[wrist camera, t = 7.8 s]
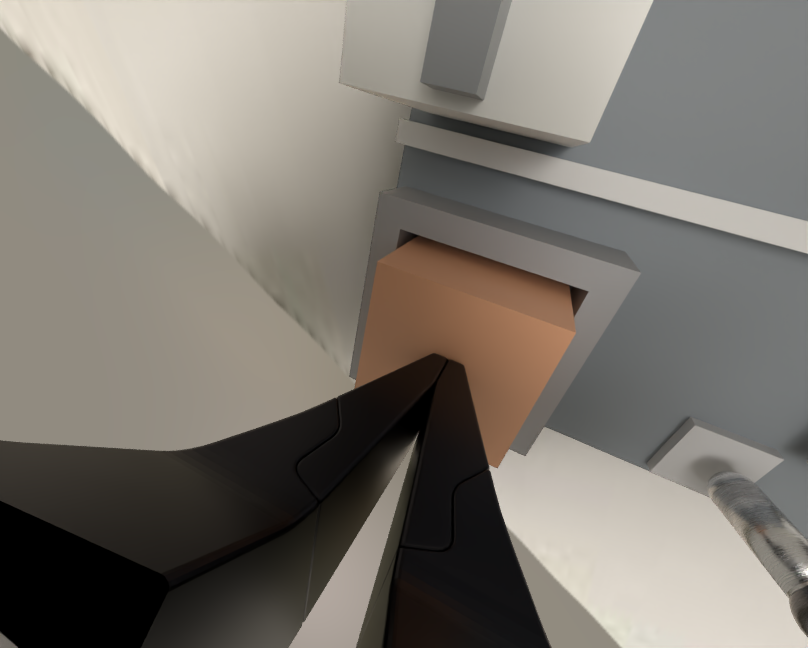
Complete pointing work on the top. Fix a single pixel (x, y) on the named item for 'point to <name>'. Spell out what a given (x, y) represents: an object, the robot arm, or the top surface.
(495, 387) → the button
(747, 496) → the toggle
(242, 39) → the top surface
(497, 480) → the top surface
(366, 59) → the slider
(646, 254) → the panel
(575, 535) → the top surface
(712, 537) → the top surface
